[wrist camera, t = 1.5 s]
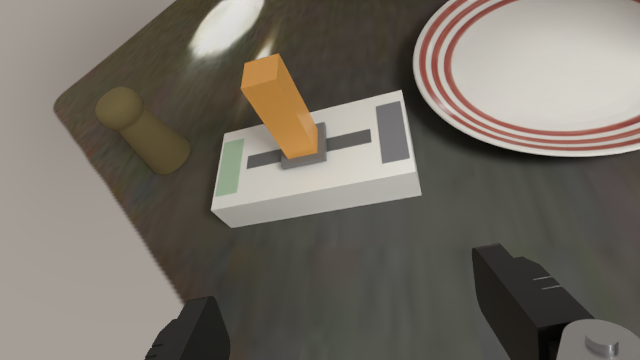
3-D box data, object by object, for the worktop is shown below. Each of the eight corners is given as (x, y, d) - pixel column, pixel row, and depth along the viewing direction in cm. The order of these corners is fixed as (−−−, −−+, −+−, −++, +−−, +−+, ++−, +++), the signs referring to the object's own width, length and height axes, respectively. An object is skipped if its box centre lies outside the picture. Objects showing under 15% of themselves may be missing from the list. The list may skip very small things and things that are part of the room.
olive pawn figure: (166, 136, 54) (107, 77, 45) (198, 139, 51) (141, 78, 43) (143, 172, 51) (75, 117, 43) (175, 177, 49) (110, 120, 40)
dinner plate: (628, -50, 45) (637, -81, 42) (836, 119, 29) (871, 87, 26) (394, 32, 50) (389, 9, 48) (457, 211, 34) (455, 191, 32)
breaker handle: (326, 125, 39) (287, 45, 31) (326, 160, 36) (284, 82, 28) (285, 135, 40) (238, 60, 32) (283, 169, 37) (231, 97, 30)
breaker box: (407, 116, 42) (401, 89, 38) (421, 195, 36) (415, 170, 33) (241, 154, 47) (224, 133, 44) (231, 228, 41) (210, 209, 38)
